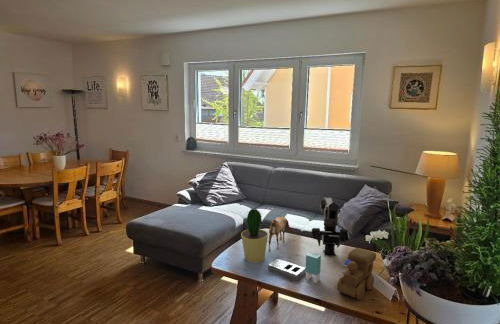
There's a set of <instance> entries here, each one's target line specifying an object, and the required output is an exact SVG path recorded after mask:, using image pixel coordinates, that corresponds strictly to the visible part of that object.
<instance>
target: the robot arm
mask: <svg viewBox="0 0 500 324" xmlns="http://www.w3.org/2000/svg"><path fill="white" fill-rule="evenodd" d="M319 204H320V205H319V209H320V210H321V213H322V214H323V217H324V219H323V226H324V227H323V230H321V229H320V228H319V227H313V228H311V234H312V238H313V239H315V240H316V241H317V243H318V247H320V246H321V244H322V246H324V249H323V251H322V252H323V254H324V256H329V257H330V256H333V257H335V256H337V253H336V251H335V250H336V249H335V247H336V248H339V247H340V246H341V245H342V244H343V243H344V242H347V241H349V240H350V233H349V230H348V229H347V228H346V229H343V228H342V229H341V228H340V229H339V231H338V230H337V227H338V225H339V214H340V213H341V210H340V206H339V204H337V203H336V202H334V201H333V198H332V197H323V200H321V201H320V203H319ZM321 237H322V238H321ZM321 242H322V243H321Z"/></svg>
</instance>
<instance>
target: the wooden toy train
mask: <svg viewBox="0 0 500 324" xmlns="http://www.w3.org/2000/svg"><path fill="white" fill-rule="evenodd" d="M347 259H349V260H350V262H349V263H348V264H347V267H346V268H347V270H346V271H345V272H344V273H343V275H342V276H341V277H339V279H338V281H337V285H336V286H337V290H338V292H340V293H342V294H344V295H347V296H349V297H352V298H356V299H357V300H358V301H359V300H362V299H363V298H364V296H365V291H366V290H367V291H368V290H369V291H370V290H372V288H373V287H374V284H375V278H374V277H375V276H373V274H372V273H373V269H374V268H373V267H374V262H375V261H376V259H377V253H376V252H373V251H370V250H368V249H366V248H365V249H364V248H359V247H355V248H353V249H352V250H351V251H349V253H348V255H347Z"/></svg>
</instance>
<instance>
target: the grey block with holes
mask: <svg viewBox="0 0 500 324" xmlns="http://www.w3.org/2000/svg"><path fill="white" fill-rule="evenodd" d="M267 270H268V271H269V272H272V273H275V274H278V275H280V276H283V277H286V278H289V279H292V280H294V281H299V280H300V279H301V278H302V277H303V276H304V275H306V267H304V266H301V265H298V264H295V263H293V262H289V261H286V260H284V259H280V258H276V259H275V260H273V261H272V262H270V263H269V264H268V265H267Z"/></svg>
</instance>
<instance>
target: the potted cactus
mask: <svg viewBox="0 0 500 324" xmlns="http://www.w3.org/2000/svg"><path fill="white" fill-rule="evenodd" d="M262 218H263V217H262V213H261V211H260V210H258V208H251V209H250V210H249V211H248V212H247V214H246V224H245V225H246V226H247V229H246V230H243V231H242V232H241V233H240V236H241V243H242V248H243V252H244V255H243V256H244V259H245V261H246V262H248V263H260V262H263V261H264V260H265V258H266V250H267V244H268V239H269V232H268V231H267V230H265V229H261V224H262Z"/></svg>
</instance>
